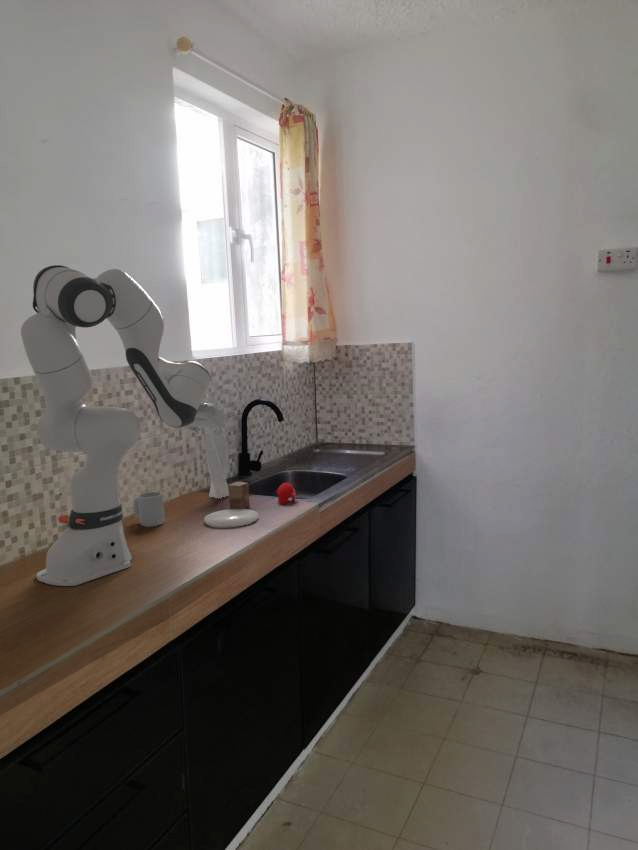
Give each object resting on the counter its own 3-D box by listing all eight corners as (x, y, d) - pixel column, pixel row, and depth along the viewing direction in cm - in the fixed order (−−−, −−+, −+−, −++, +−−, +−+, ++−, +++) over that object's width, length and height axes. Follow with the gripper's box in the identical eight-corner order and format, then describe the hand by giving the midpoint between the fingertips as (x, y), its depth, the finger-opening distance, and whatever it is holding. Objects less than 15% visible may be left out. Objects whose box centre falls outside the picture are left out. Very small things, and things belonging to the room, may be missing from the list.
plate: (236, 530, 177) (236, 526, 177) (193, 524, 185) (193, 520, 185) (268, 515, 191) (268, 511, 191) (227, 510, 199) (226, 506, 199)
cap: (280, 488, 212) (271, 483, 207) (295, 483, 210) (287, 477, 205) (283, 510, 208) (274, 505, 203) (299, 505, 206) (290, 499, 201)
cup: (155, 528, 184) (152, 498, 183) (127, 525, 188) (125, 496, 186) (169, 521, 190) (167, 492, 189) (142, 518, 194) (140, 490, 193)
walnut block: (241, 510, 198) (239, 485, 197) (229, 509, 201) (228, 484, 200) (249, 506, 202) (248, 482, 201) (238, 505, 205) (236, 481, 203)
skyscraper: (222, 492, 223) (216, 414, 220) (236, 495, 219) (230, 415, 215) (204, 497, 218) (198, 417, 214) (218, 500, 213) (212, 418, 209)
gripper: (214, 395, 172) (240, 425, 182) (162, 393, 184) (189, 422, 193) (204, 413, 169) (230, 442, 179) (152, 411, 181) (179, 439, 190)
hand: (208, 432), depth 186 cm, fingers open, 8 cm apart
